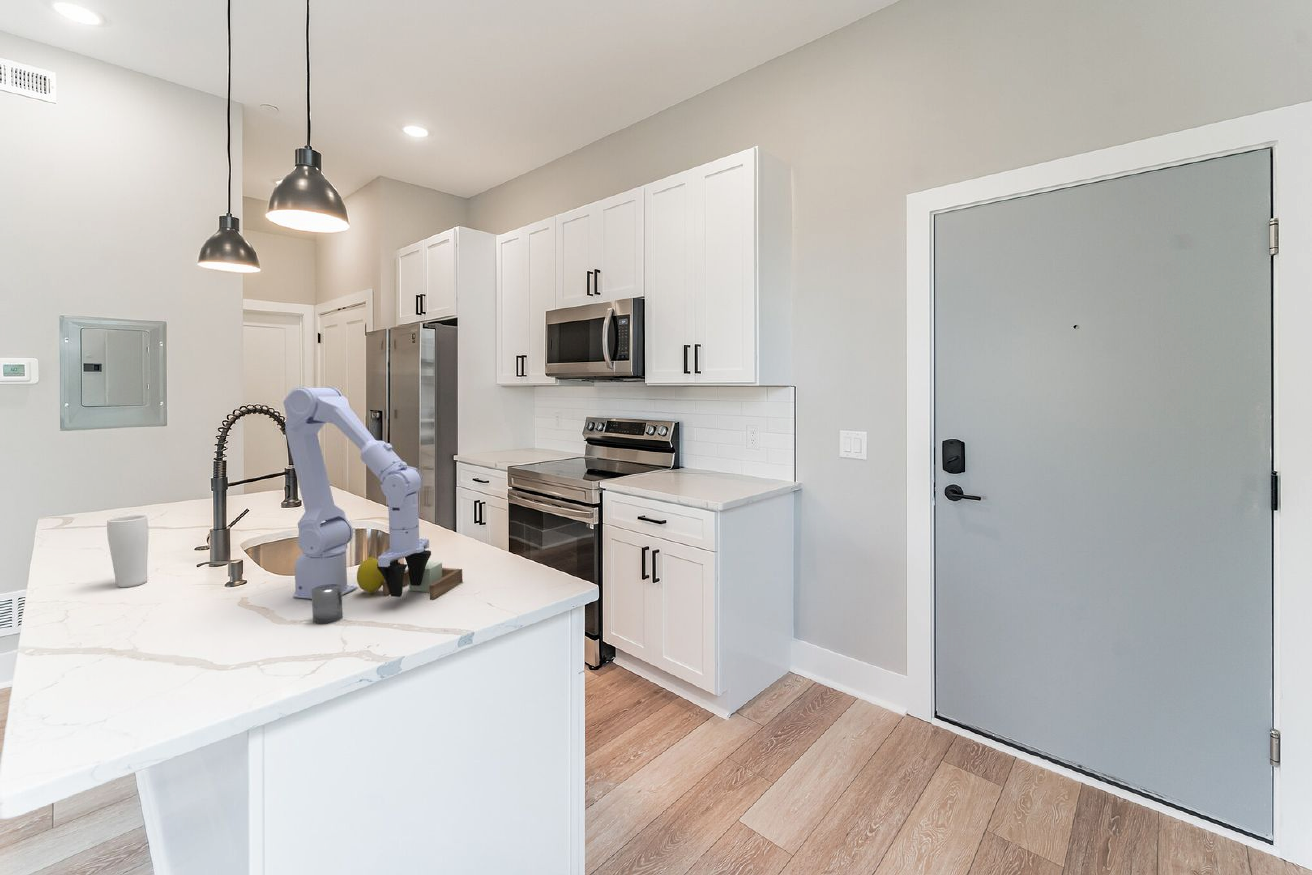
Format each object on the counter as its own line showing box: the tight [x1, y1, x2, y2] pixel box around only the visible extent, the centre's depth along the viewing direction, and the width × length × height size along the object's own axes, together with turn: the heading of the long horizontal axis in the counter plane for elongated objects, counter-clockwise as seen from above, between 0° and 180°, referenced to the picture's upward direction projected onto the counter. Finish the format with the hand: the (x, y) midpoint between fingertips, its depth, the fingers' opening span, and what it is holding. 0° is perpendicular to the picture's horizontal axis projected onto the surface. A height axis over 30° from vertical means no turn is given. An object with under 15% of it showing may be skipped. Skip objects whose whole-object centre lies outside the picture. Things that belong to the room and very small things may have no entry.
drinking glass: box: [106, 514, 149, 588], centre depth 132 cm, size 7×7×15 cm
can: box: [311, 584, 344, 625], centre depth 113 cm, size 5×5×6 cm
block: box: [408, 561, 443, 593], centre depth 131 cm, size 5×5×5 cm
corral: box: [382, 567, 463, 601], centre depth 131 cm, size 12×12×3 cm
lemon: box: [356, 556, 385, 595], centre depth 127 cm, size 6×6×8 cm
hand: (406, 590), depth 124 cm, fingers open, 6 cm apart
